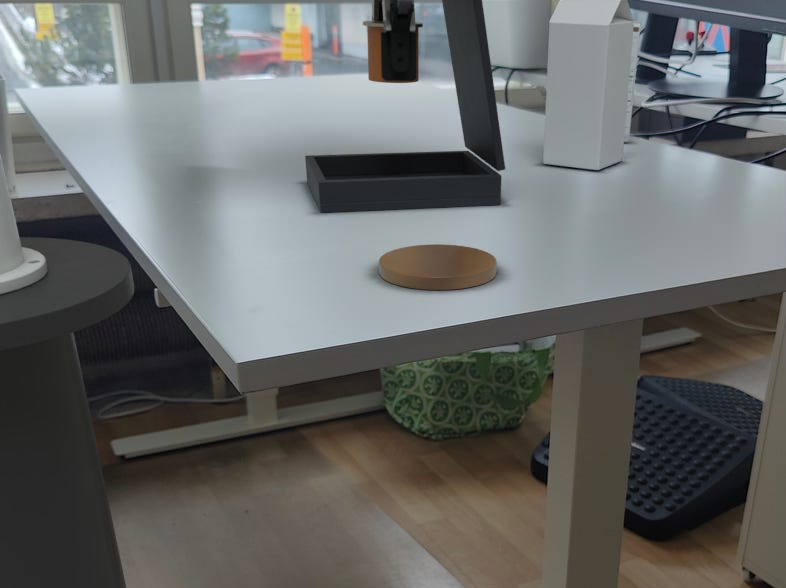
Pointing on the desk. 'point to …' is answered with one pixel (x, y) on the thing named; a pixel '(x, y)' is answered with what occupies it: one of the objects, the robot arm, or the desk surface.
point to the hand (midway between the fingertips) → (393, 74)
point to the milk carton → (587, 83)
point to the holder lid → (474, 79)
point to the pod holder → (401, 181)
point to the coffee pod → (375, 51)
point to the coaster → (437, 267)
